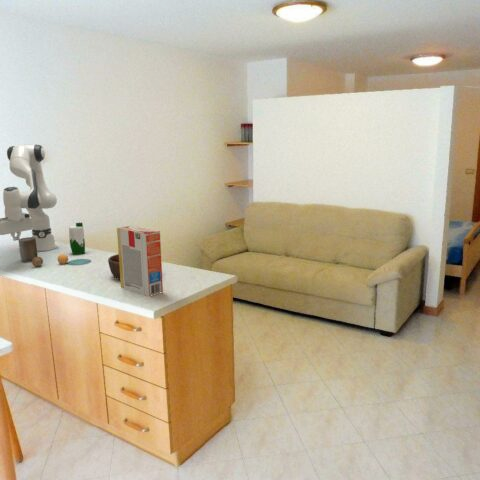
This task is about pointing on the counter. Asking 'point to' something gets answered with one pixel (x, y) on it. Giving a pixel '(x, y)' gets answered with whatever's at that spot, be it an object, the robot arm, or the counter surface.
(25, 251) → the pillar candle
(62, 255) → the orange ball
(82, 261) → the teal mark
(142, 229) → the cereal box
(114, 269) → the wooden bowl
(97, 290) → the counter surface
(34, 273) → the counter surface
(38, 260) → the walnut ball
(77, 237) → the milk carton
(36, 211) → the robot arm
